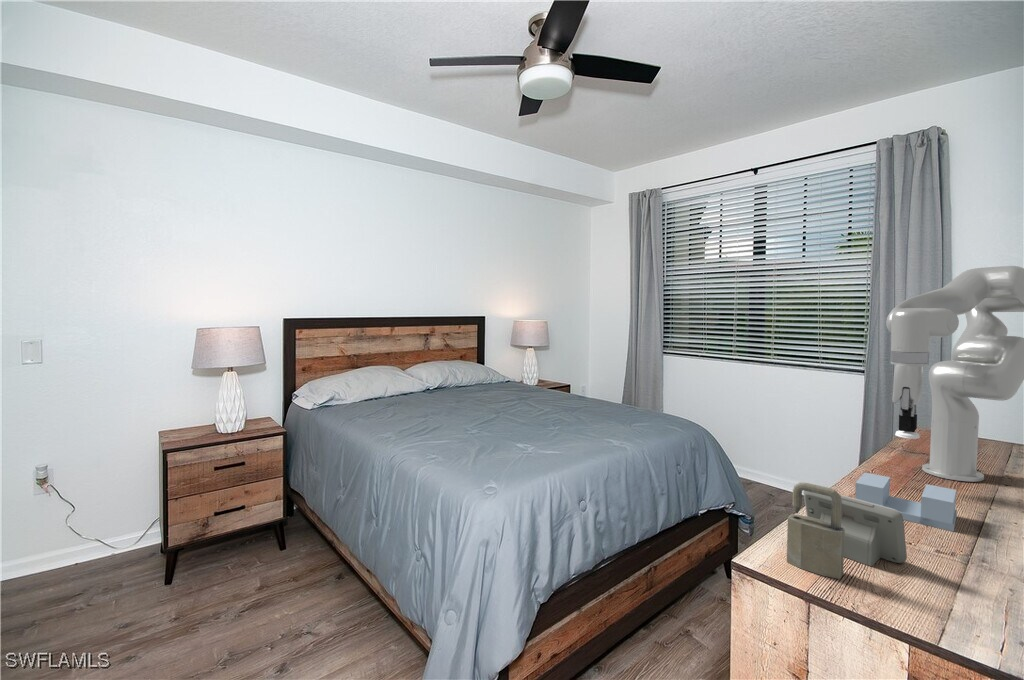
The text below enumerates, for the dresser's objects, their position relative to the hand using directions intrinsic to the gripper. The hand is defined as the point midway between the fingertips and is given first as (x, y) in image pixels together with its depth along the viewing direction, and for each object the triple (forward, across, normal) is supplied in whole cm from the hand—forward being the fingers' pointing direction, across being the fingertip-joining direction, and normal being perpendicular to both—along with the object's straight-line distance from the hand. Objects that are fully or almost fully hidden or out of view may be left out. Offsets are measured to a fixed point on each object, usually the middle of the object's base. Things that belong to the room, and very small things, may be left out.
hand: (907, 429), depth 122 cm
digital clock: (+14, +49, -3) cm, 51 cm away
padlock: (+14, +61, -6) cm, 63 cm away
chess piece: (+2, 0, 0) cm, 2 cm away
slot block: (+15, +20, +2) cm, 25 cm away
